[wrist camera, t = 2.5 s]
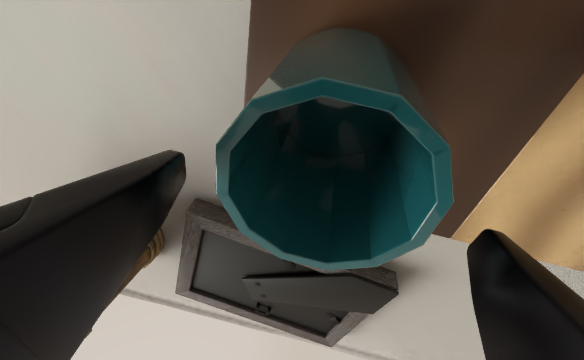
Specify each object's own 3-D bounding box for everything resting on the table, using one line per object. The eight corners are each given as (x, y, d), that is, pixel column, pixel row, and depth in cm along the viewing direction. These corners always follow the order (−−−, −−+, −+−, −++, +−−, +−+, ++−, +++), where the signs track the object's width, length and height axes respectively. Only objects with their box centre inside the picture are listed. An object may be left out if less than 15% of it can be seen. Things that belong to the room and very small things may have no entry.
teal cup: (432, 46, 12) (514, 121, 6) (377, 168, 17) (392, 288, 10) (283, 12, 13) (214, 52, 6) (266, 141, 17) (215, 242, 11)
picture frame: (395, 272, 24) (195, 198, 23) (399, 294, 22) (184, 215, 21) (332, 333, 32) (182, 280, 31) (331, 351, 30) (173, 297, 29)
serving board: (886, 16, 10) (940, 21, 9) (571, 257, 20) (583, 271, 19) (266, -114, 11) (259, -123, 10) (243, 176, 20) (238, 186, 19)
